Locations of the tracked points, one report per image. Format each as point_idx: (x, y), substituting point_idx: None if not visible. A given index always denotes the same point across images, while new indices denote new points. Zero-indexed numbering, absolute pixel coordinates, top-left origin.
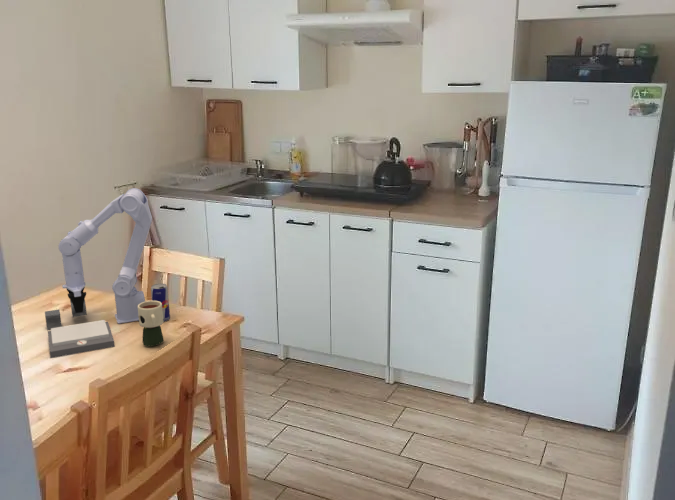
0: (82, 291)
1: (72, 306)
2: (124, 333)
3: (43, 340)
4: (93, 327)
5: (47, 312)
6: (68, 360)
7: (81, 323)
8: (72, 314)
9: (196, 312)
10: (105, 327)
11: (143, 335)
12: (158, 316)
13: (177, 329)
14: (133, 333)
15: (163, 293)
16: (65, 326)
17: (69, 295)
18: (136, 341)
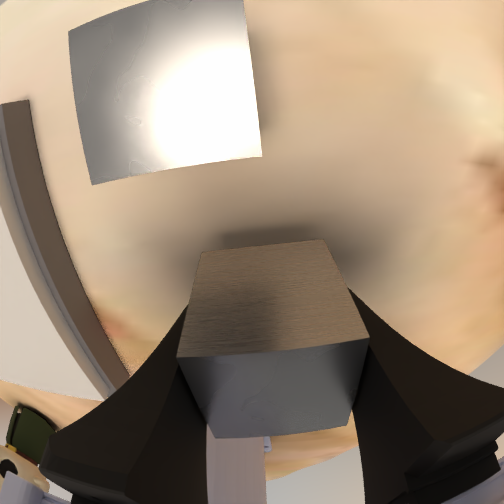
0: (364, 469)
1: (186, 333)
2: (78, 398)
3: (2, 87)
4: (21, 354)
5: (186, 17)
6: None
7: (47, 316)
8: (198, 267)
9: None
10: (33, 385)
11: (11, 426)
12: None
13: None
14: (82, 411)
15: None
16: (3, 227)
17: (42, 474)
18: (38, 401)
